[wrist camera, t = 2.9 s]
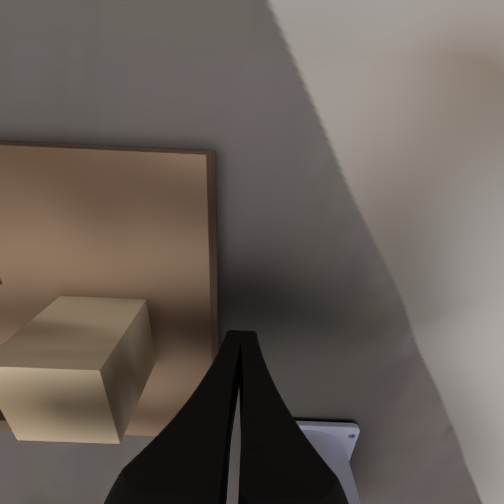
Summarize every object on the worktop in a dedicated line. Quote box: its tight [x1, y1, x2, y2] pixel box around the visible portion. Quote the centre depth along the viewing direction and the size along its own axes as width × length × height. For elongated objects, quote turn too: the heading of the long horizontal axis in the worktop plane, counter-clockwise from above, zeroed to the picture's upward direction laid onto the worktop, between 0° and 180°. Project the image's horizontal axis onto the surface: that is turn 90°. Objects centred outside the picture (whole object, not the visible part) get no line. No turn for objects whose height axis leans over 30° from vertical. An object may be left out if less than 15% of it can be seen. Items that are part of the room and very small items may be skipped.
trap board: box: [0, 141, 218, 436], centre depth 14 cm, size 17×23×2 cm
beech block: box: [0, 296, 156, 444], centre depth 11 cm, size 4×4×4 cm
